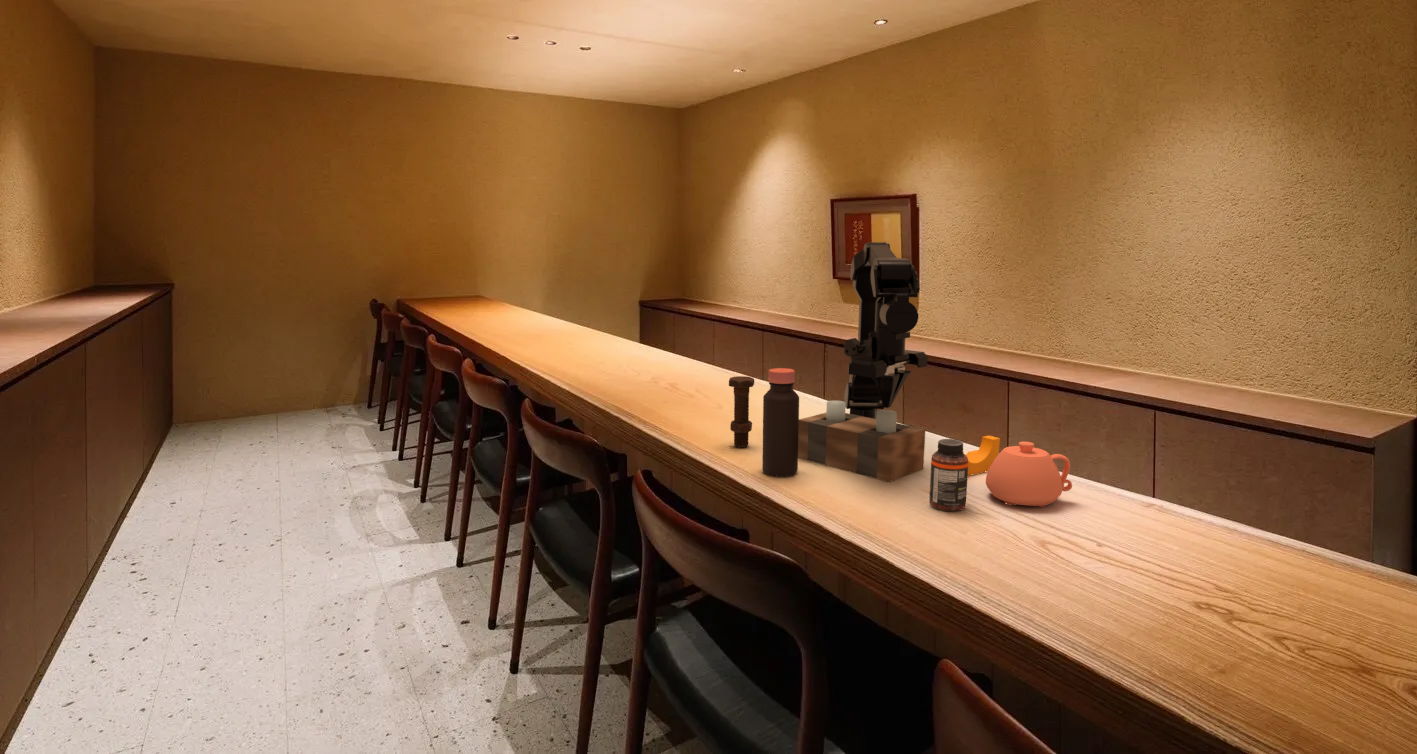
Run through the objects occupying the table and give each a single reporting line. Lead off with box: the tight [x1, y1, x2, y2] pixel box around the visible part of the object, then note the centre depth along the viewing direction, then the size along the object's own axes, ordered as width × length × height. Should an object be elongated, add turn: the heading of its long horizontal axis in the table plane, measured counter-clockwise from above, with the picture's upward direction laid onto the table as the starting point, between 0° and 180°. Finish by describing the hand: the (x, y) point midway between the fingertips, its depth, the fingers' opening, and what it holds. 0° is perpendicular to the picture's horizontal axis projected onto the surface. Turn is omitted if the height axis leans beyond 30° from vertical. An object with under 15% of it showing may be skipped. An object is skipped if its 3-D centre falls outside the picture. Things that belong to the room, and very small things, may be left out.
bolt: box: [728, 375, 755, 448], centre depth 165 cm, size 6×5×15 cm
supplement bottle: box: [928, 438, 969, 512], centre depth 129 cm, size 6×6×11 cm
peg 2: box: [876, 409, 898, 434], centre depth 148 cm, size 4×4×7 cm
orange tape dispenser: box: [963, 435, 1001, 476], centre depth 148 cm, size 12×4×6 cm, turn 119°
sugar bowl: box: [985, 441, 1073, 508], centre depth 132 cm, size 12×14×10 cm
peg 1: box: [825, 399, 846, 423], centre depth 157 cm, size 4×4×7 cm
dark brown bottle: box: [761, 367, 800, 478], centre depth 146 cm, size 7×7×20 cm
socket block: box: [798, 412, 926, 483], centre depth 153 cm, size 12×22×8 cm, turn 44°
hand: (886, 407), depth 148 cm, fingers closed
